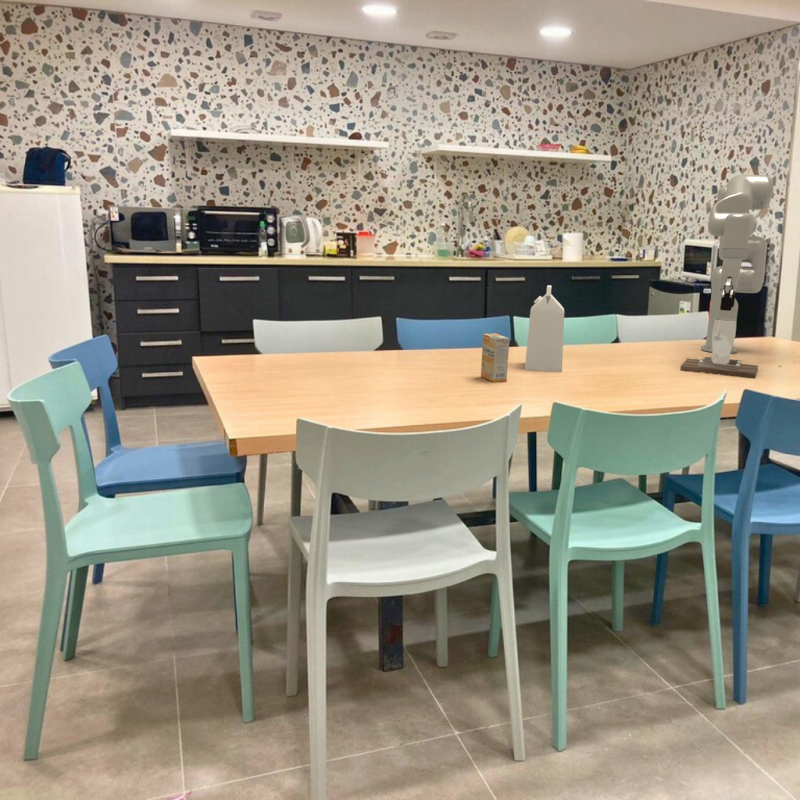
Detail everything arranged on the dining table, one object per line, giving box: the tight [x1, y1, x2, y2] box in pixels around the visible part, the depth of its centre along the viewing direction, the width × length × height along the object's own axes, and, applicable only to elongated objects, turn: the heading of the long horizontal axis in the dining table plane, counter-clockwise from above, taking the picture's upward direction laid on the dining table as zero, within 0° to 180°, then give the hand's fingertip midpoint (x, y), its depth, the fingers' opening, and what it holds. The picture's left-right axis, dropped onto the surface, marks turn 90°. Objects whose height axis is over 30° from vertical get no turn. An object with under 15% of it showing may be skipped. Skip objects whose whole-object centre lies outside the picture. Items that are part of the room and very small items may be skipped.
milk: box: [524, 284, 565, 373], centre depth 241 cm, size 12×12×26 cm
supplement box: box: [480, 332, 510, 383], centre depth 222 cm, size 8×5×13 cm, turn 21°
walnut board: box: [679, 356, 759, 379], centre depth 247 cm, size 16×22×3 cm
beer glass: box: [710, 318, 737, 365], centre depth 245 cm, size 7×7×15 cm
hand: (726, 308), depth 243 cm, fingers open, 9 cm apart
